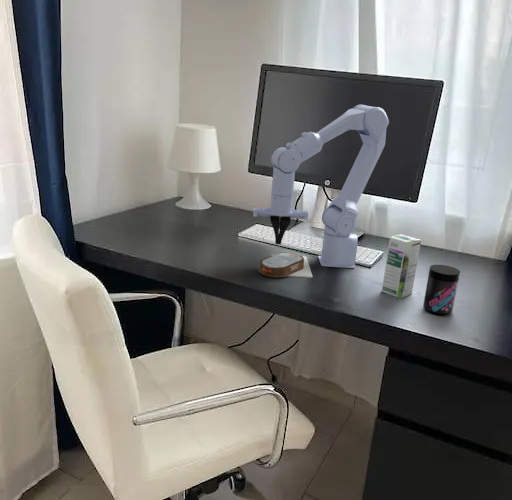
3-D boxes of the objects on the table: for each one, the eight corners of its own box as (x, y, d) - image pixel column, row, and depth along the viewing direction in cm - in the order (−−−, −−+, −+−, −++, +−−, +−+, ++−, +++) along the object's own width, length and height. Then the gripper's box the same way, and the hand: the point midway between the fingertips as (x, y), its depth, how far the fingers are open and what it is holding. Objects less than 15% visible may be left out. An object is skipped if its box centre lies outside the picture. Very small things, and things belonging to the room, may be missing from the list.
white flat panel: (306, 257, 161) (306, 256, 160) (312, 277, 145) (312, 276, 145) (271, 255, 160) (271, 254, 160) (274, 275, 145) (274, 274, 145)
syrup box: (380, 291, 139) (388, 236, 135) (393, 286, 143) (401, 233, 139) (400, 299, 136) (409, 242, 131) (412, 293, 140) (422, 238, 135)
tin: (252, 271, 146) (278, 282, 141) (253, 260, 145) (279, 270, 140) (284, 258, 157) (309, 268, 153) (285, 248, 156) (310, 257, 152)
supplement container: (419, 312, 129) (427, 270, 125) (424, 302, 135) (432, 262, 131) (449, 319, 126) (458, 277, 123) (453, 309, 132) (462, 268, 129)
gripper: (308, 192, 150) (303, 240, 155) (254, 189, 150) (251, 237, 154) (310, 198, 144) (305, 248, 148) (254, 195, 143) (251, 245, 147)
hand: (278, 243), depth 151 cm, fingers closed
